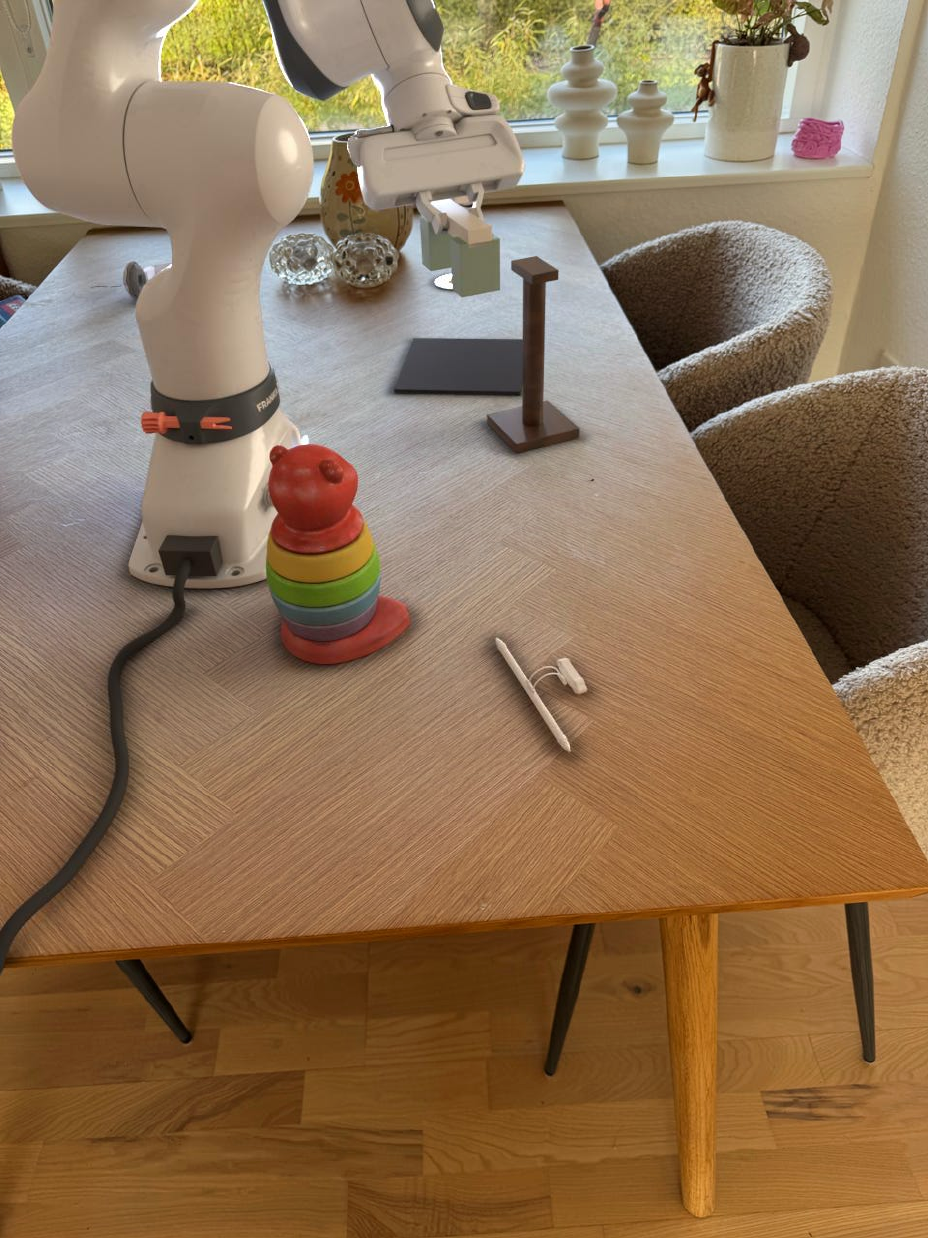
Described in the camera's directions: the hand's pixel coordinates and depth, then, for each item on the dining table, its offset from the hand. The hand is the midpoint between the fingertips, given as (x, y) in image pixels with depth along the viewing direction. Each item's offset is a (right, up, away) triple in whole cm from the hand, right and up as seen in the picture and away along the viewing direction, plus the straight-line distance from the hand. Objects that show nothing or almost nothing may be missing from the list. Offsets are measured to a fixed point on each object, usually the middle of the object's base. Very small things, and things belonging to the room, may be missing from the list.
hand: (460, 228), depth 110 cm
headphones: (-46, +5, +37) cm, 60 cm away
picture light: (+7, -52, -36) cm, 64 cm away
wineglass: (-1, +7, +36) cm, 37 cm away
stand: (+8, -25, -2) cm, 26 cm away
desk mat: (0, -13, +12) cm, 18 cm away
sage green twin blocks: (0, -4, +4) cm, 6 cm away
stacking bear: (-11, -48, -29) cm, 57 cm away
